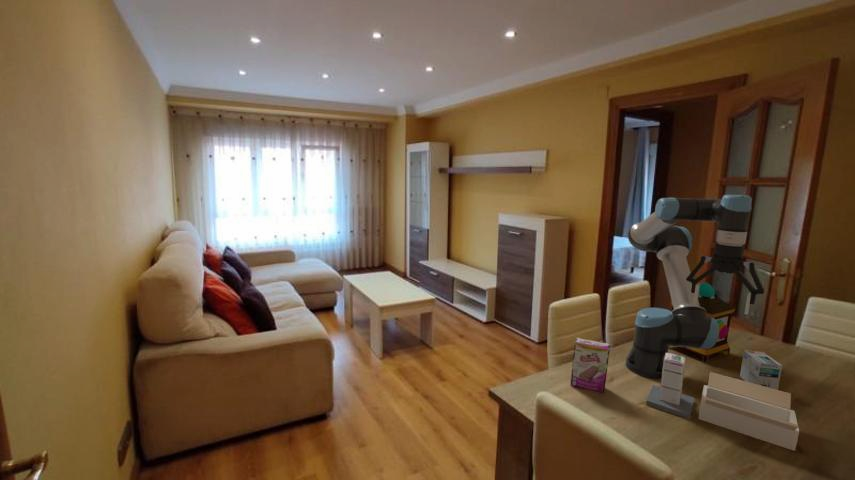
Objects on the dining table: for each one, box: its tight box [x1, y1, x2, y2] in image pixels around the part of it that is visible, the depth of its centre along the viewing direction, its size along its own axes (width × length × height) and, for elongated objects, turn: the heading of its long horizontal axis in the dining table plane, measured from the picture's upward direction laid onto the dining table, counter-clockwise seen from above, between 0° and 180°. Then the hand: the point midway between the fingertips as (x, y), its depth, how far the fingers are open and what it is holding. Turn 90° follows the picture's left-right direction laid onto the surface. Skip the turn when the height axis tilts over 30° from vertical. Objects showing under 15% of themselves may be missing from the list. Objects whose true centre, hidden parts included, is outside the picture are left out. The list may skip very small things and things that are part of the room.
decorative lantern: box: [670, 282, 736, 364], centre depth 165 cm, size 20×20×30 cm
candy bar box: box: [570, 337, 611, 394], centre depth 137 cm, size 11×5×16 cm, turn 65°
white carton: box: [698, 371, 800, 452], centre depth 118 cm, size 22×20×9 cm
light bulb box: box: [739, 349, 783, 390], centre depth 141 cm, size 11×7×11 cm, turn 168°
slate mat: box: [645, 384, 695, 420], centre depth 129 cm, size 12×12×2 cm
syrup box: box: [659, 352, 686, 405], centre depth 128 cm, size 6×6×14 cm
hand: (719, 308), depth 129 cm, fingers open, 13 cm apart
